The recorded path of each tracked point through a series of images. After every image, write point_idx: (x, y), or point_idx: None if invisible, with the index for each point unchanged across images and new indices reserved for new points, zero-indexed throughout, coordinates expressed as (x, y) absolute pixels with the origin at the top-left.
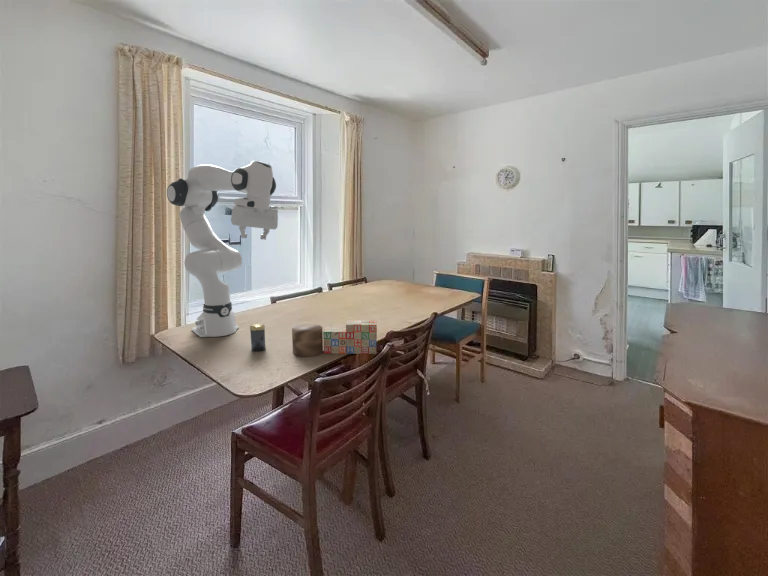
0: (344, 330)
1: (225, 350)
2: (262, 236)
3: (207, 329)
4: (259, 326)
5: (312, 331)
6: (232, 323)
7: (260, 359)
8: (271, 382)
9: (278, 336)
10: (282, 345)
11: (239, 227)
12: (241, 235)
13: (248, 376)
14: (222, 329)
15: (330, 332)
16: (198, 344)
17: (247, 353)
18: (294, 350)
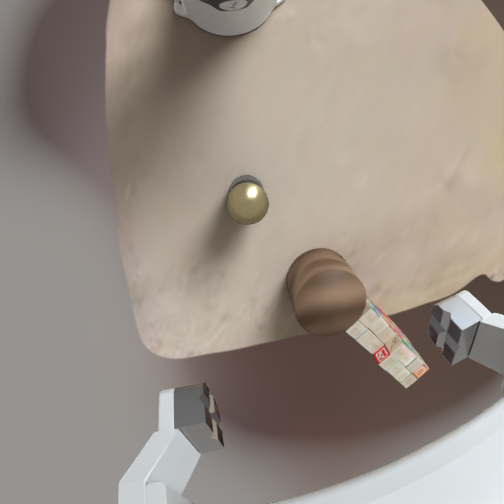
0: (377, 347)
1: (182, 145)
2: (447, 343)
3: (187, 11)
4: (250, 212)
5: (322, 331)
6: (258, 11)
7: (220, 253)
8: (192, 351)
9: (333, 133)
10: (303, 204)
11: (122, 495)
12: (162, 412)
13: (170, 311)
14: (222, 25)
15: (354, 338)
16: (150, 61)
17: (214, 199)
18: (288, 282)
